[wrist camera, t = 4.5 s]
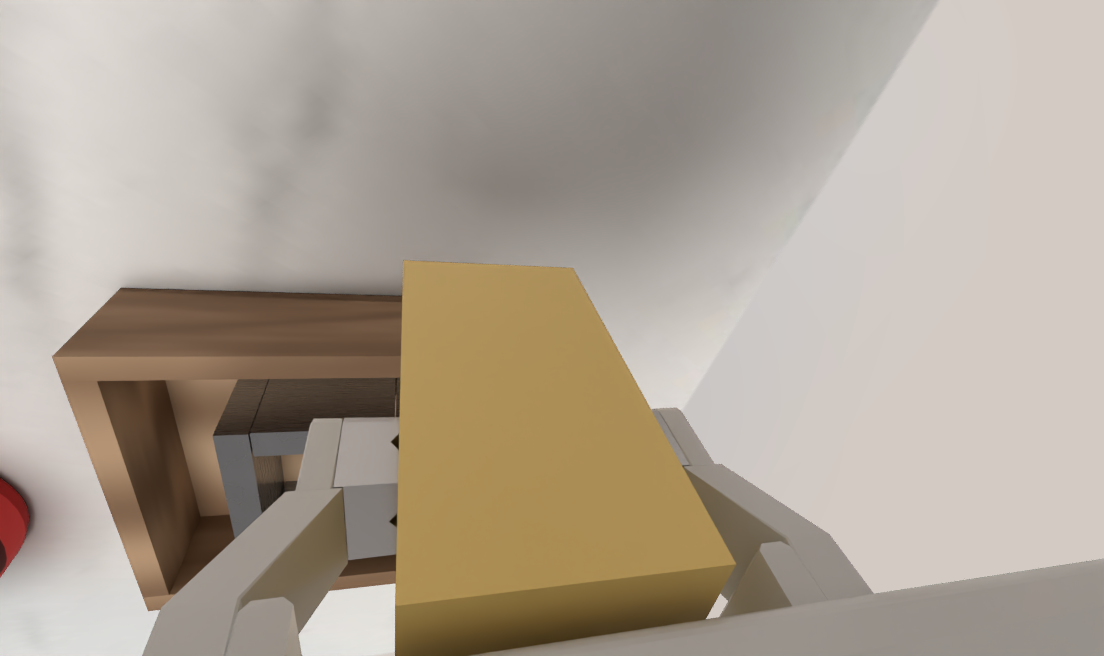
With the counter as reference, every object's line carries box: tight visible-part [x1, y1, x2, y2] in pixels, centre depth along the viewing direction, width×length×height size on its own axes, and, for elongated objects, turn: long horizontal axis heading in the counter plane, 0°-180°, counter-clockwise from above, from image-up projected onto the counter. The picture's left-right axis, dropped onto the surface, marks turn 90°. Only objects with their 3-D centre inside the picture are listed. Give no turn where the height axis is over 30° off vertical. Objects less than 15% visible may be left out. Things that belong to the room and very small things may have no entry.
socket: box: [213, 378, 400, 538], centre depth 25 cm, size 8×8×4 cm
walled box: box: [52, 288, 402, 611], centre depth 25 cm, size 14×15×5 cm
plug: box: [395, 260, 736, 656], centre depth 10 cm, size 4×4×8 cm
